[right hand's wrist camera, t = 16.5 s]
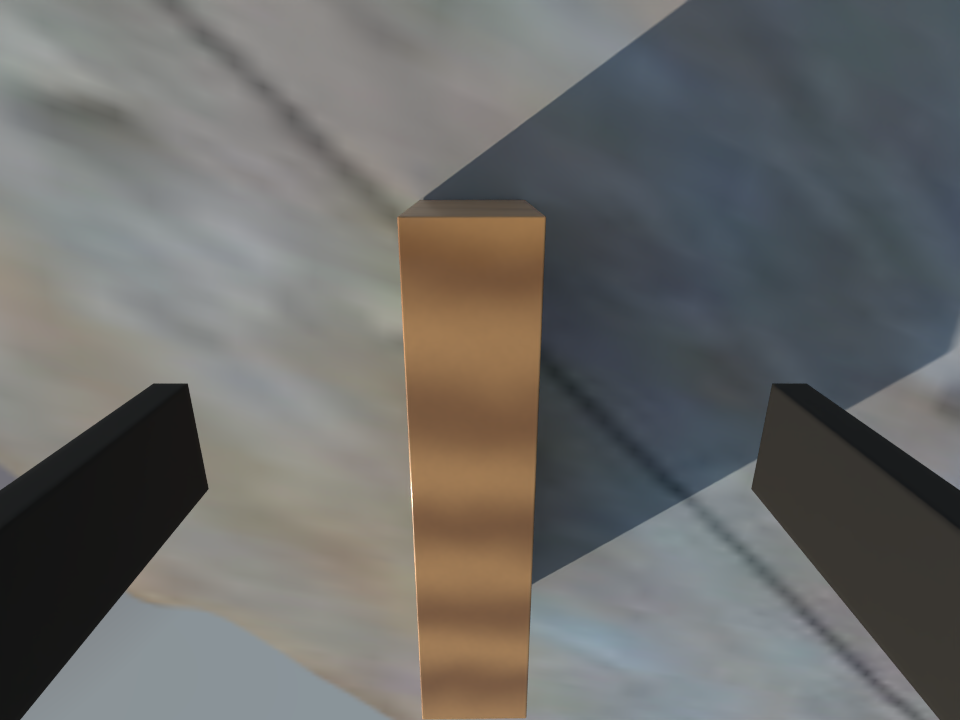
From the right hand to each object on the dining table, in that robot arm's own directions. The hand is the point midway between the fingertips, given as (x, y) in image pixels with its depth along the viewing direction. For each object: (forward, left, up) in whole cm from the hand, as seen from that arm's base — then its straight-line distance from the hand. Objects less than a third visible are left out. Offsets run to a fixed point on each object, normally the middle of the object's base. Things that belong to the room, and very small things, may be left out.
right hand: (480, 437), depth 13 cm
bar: (+9, +3, -20) cm, 23 cm away
